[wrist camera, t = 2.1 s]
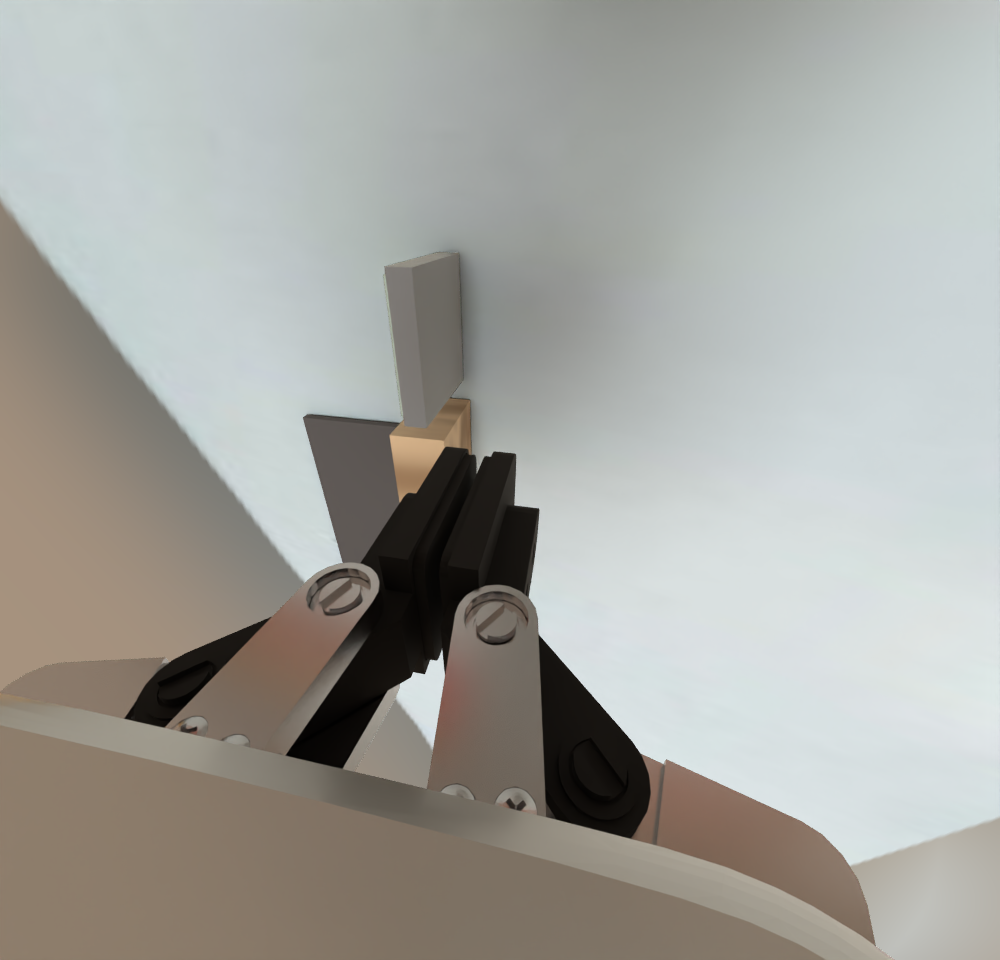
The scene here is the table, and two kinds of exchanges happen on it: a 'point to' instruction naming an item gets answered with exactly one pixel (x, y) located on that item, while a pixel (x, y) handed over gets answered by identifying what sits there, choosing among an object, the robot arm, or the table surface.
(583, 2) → the table surface
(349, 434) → the mat
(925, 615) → the table surface
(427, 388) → the tile
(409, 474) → the tan stepped block piece
